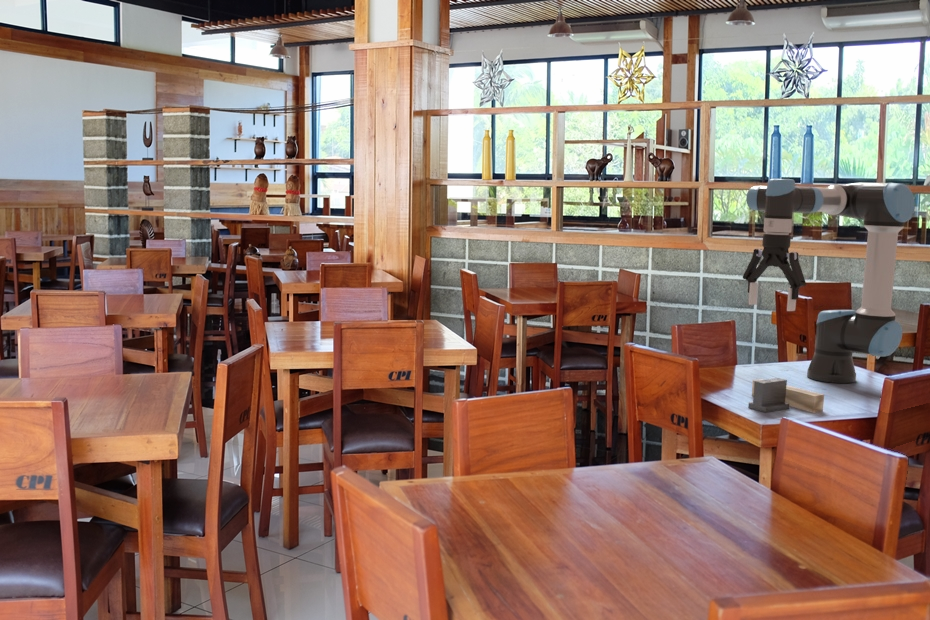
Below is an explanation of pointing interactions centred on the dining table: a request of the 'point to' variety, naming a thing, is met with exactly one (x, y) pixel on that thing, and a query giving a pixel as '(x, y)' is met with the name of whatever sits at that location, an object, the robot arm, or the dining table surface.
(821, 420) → the dining table surface
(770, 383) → the gray pedestal stand
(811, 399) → the ash bar
